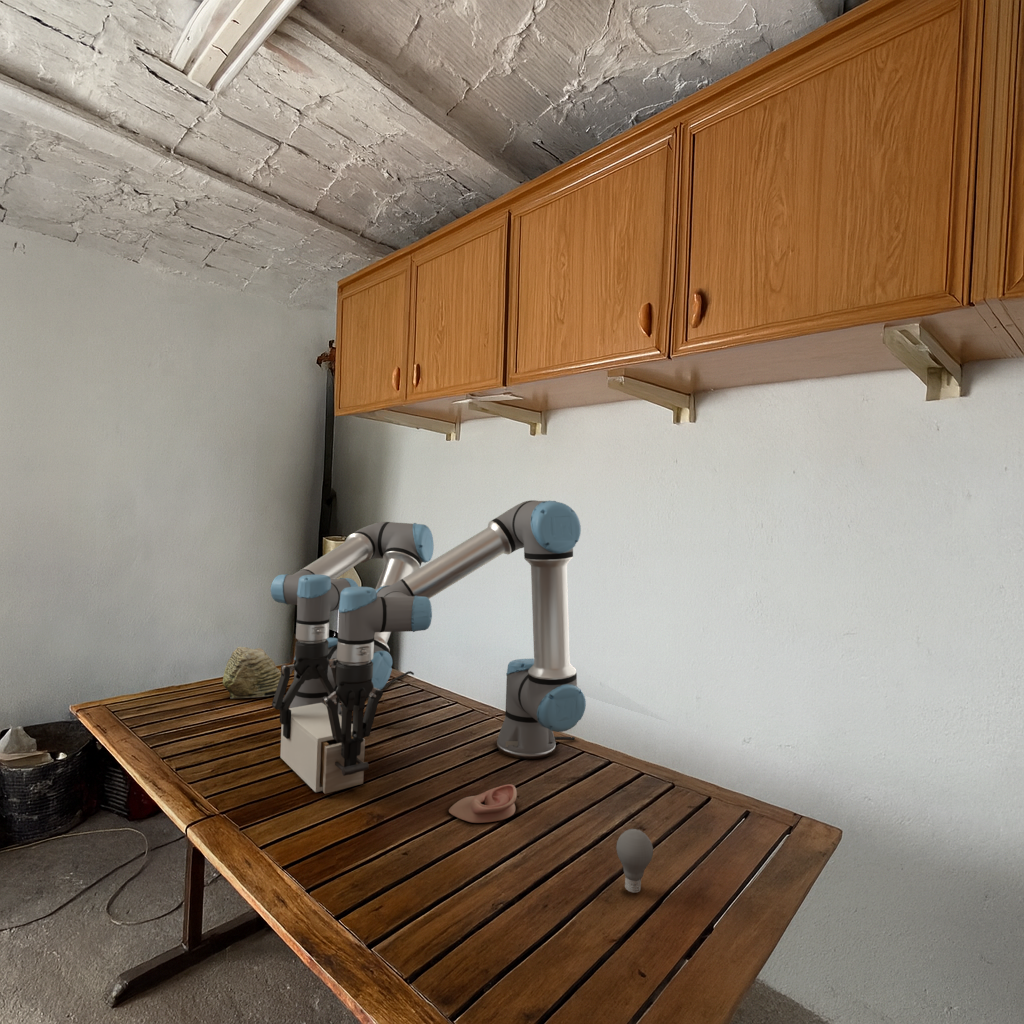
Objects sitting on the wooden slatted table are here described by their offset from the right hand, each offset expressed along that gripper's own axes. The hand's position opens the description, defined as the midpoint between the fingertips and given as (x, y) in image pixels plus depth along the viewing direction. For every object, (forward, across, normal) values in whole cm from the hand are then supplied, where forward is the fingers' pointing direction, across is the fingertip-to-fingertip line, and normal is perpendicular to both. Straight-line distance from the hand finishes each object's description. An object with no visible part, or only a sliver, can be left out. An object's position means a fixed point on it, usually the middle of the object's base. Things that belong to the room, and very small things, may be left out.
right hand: (349, 771), depth 134 cm
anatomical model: (+5, +20, -20) cm, 29 cm away
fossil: (+6, +4, +79) cm, 79 cm away
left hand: (-1, 0, +23) cm, 23 cm away
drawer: (+5, 0, +10) cm, 11 cm away
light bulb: (+5, +25, -56) cm, 62 cm away
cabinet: (+6, 0, +17) cm, 18 cm away
